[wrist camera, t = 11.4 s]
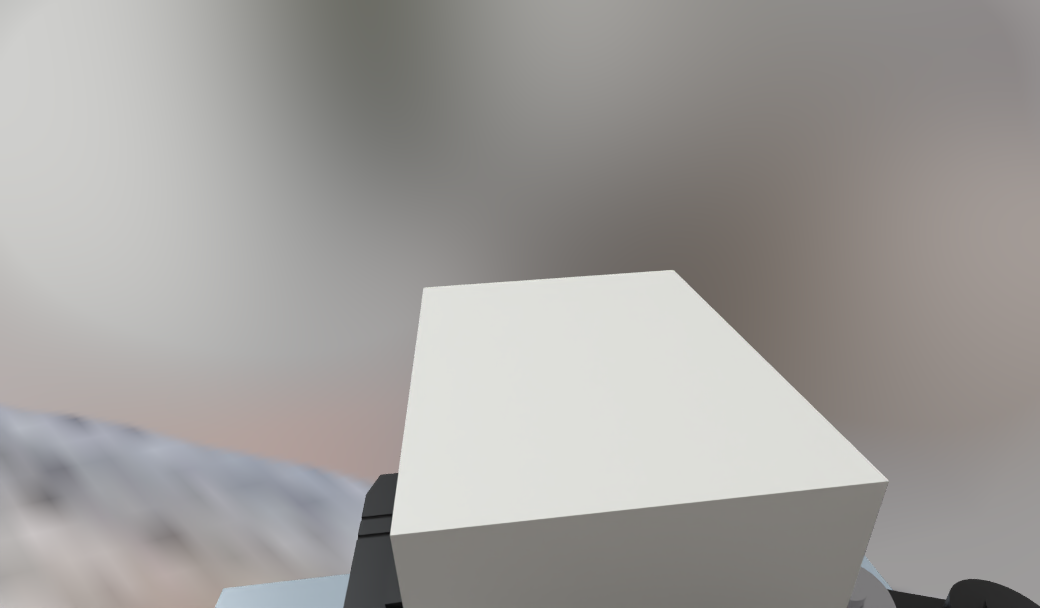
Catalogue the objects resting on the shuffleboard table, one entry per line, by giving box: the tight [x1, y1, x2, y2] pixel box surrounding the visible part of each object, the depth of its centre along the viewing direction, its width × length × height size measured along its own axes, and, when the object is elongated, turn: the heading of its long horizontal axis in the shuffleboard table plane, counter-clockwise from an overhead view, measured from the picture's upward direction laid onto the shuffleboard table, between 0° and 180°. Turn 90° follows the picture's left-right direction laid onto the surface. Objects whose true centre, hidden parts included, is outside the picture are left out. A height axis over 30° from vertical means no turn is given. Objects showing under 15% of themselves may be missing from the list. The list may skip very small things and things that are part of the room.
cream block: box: [390, 270, 889, 608], centre depth 10 cm, size 6×5×10 cm
